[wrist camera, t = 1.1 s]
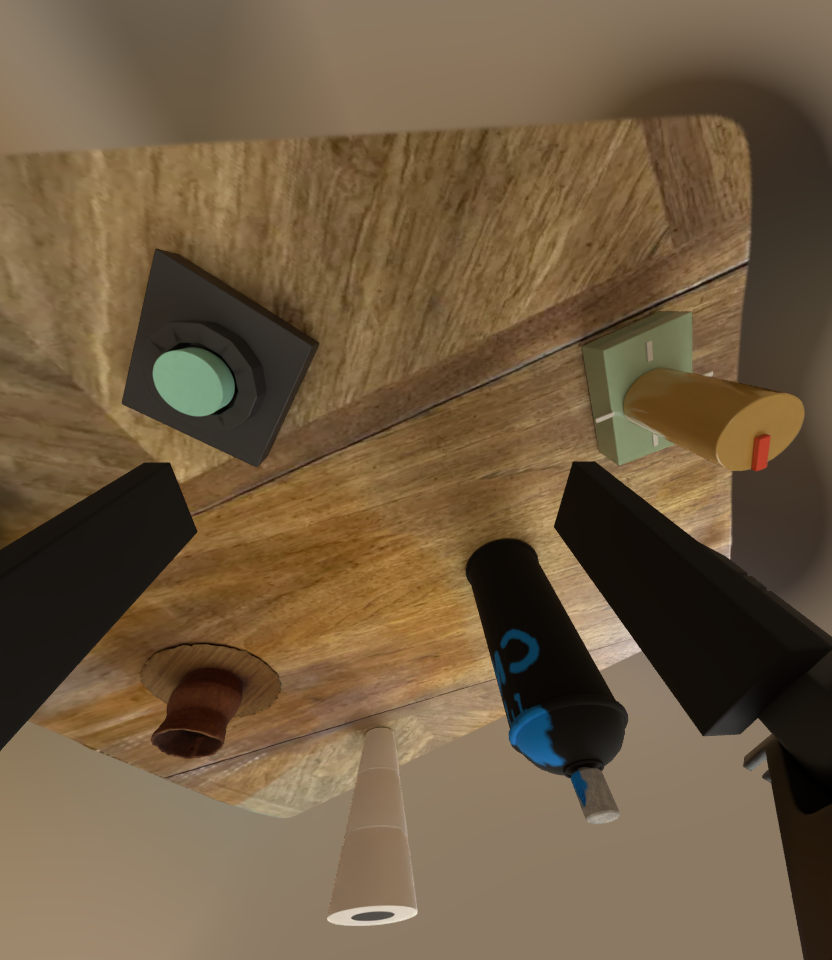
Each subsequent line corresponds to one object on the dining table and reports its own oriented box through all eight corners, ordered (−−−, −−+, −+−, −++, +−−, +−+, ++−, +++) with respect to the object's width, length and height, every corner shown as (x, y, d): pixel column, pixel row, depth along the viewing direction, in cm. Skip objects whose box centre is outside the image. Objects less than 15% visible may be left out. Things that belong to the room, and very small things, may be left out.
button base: (177, 253, 20) (132, 241, 17) (319, 343, 23) (306, 348, 20) (142, 396, 24) (99, 411, 21) (267, 457, 27) (248, 478, 24)
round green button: (179, 334, 19) (160, 336, 18) (243, 370, 21) (231, 374, 19) (163, 389, 21) (145, 395, 19) (224, 419, 22) (212, 428, 21)
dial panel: (564, 353, 25) (586, 359, 22) (677, 302, 23) (715, 301, 21) (584, 457, 29) (604, 472, 26) (680, 419, 28) (711, 431, 25)
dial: (619, 383, 23) (723, 417, 16) (681, 356, 22) (819, 379, 15) (625, 434, 25) (719, 485, 18) (682, 411, 24) (805, 454, 17)
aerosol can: (547, 541, 34) (708, 788, 16) (524, 594, 38) (634, 839, 20) (475, 535, 33) (563, 790, 15) (458, 589, 37) (514, 843, 19)
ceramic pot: (304, 699, 46) (290, 759, 40) (201, 726, 48) (173, 787, 42) (230, 627, 38) (198, 689, 32) (109, 663, 40) (57, 728, 34)
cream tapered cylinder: (390, 753, 56) (387, 926, 40) (336, 741, 53) (311, 924, 37) (423, 727, 52) (435, 908, 37) (368, 712, 49) (355, 903, 33)
